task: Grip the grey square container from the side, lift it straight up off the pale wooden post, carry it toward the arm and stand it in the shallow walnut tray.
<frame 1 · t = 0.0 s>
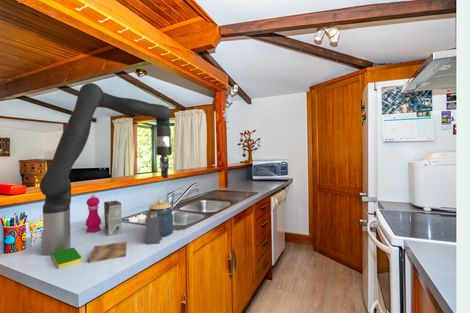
hand: (164, 177, 116), 29 cm above the counter, tool pointing down, fingers open, 8 cm apart
grey square container: (154, 241, 106), on the counter
coffee box: (113, 232, 120), on the counter
canister: (160, 233, 118), on the counter
pepper mill: (93, 231, 124), on the counter
post: (154, 241, 106), on the counter
tray: (109, 253, 94), on the counter
dish sponge: (66, 261, 89), on the counter
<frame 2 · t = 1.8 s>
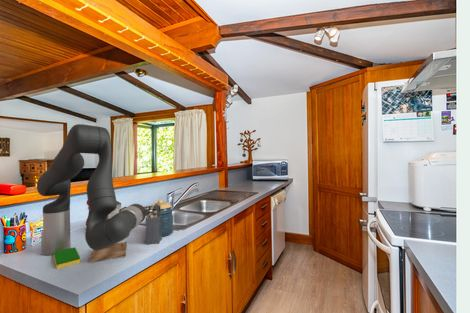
hand: (146, 206, 95), 19 cm above the counter, tool horizontal, fingers open, 8 cm apart
nothing on the counter moved.
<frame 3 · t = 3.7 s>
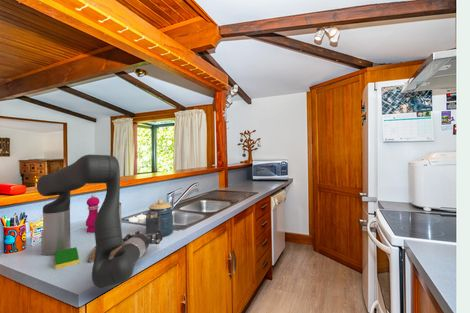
hand: (148, 232, 98), 7 cm above the counter, tool horizontal, fingers open, 8 cm apart
nothing on the counter moved.
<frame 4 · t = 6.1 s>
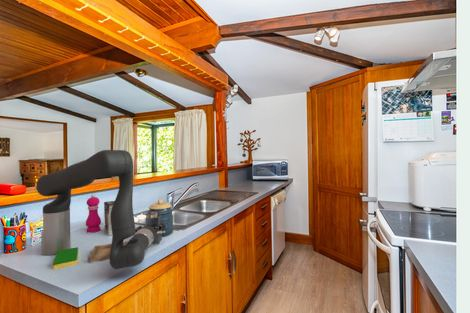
hand: (155, 225, 109), 7 cm above the counter, tool horizontal, fingers closed on grey square container, 5 cm apart
grey square container: (154, 241, 106), on the counter, touching gripper
everything else where it was.
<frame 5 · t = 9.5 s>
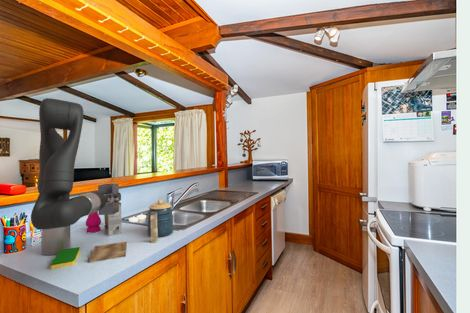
hand: (111, 195, 97), 24 cm above the counter, tool horizontal, fingers closed on grey square container, 5 cm apart
grey square container: (109, 213, 94), point 17 cm above the counter, touching gripper
when the fingers open (8 cm above the counter, at t = 12.9 s): grey square container stays where it is, resting on tray.
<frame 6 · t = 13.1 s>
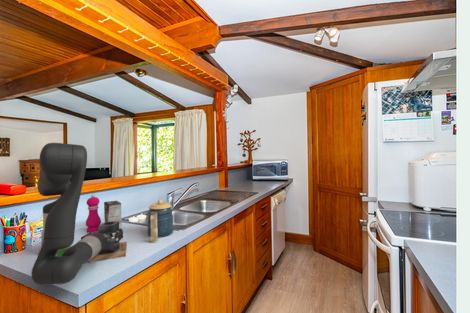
hand: (111, 231, 96), 8 cm above the counter, tool horizontal, fingers open, 7 cm apart
grey square container: (109, 252, 94), resting on tray
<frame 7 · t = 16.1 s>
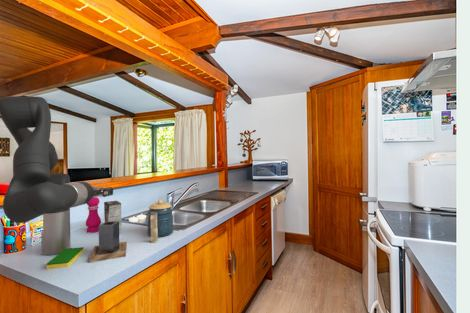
hand: (98, 189, 86), 28 cm above the counter, tool horizontal, fingers open, 8 cm apart
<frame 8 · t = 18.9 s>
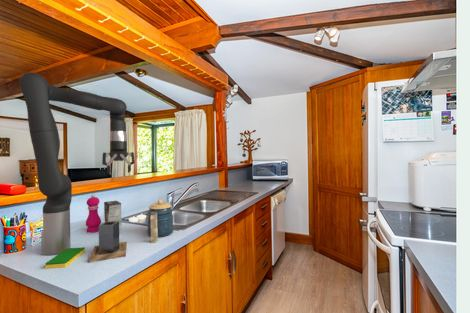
hand: (119, 173, 113), 32 cm above the counter, tool pointing down, fingers open, 8 cm apart
at the end: grey square container inside the target area on the tray (0.1 cm from its centre), point 0.5 cm above the tray's base; grey square container tilted 0°; the gripper is holding nothing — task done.
